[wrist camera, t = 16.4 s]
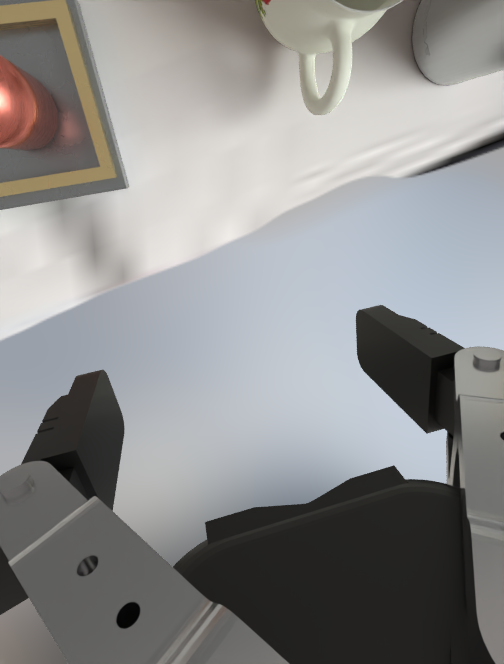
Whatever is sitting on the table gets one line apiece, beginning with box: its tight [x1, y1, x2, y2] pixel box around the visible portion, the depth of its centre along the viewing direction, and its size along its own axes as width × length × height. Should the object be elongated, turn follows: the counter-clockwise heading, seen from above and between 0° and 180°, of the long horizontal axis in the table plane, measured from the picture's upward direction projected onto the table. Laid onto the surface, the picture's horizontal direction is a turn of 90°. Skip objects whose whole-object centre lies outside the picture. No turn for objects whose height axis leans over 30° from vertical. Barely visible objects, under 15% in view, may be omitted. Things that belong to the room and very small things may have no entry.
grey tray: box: [0, 0, 129, 210], centre depth 30 cm, size 16×14×4 cm
